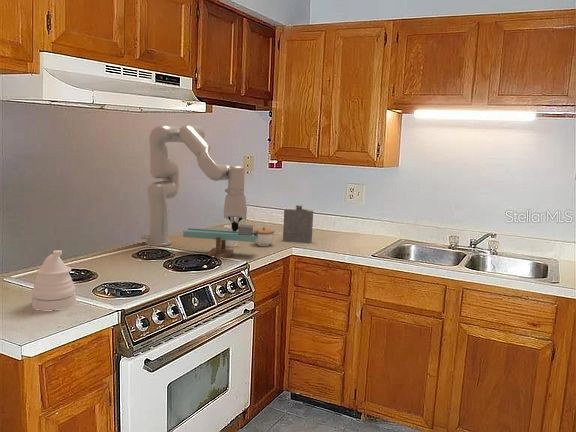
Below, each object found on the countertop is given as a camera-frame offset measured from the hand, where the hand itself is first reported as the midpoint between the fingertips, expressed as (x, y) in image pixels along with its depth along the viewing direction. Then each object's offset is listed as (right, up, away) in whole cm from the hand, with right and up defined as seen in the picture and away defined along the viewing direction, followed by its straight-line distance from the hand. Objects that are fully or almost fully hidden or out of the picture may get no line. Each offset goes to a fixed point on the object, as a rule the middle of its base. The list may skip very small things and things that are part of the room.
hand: (234, 230), depth 242 cm
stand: (-7, -11, +2) cm, 13 cm away
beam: (-7, -5, +1) cm, 8 cm away
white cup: (-4, -8, +22) cm, 24 cm away
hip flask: (+30, -7, +39) cm, 50 cm away
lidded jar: (+12, -8, +27) cm, 30 cm away
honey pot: (-51, -22, -76) cm, 94 cm away
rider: (+5, -2, 0) cm, 5 cm away
